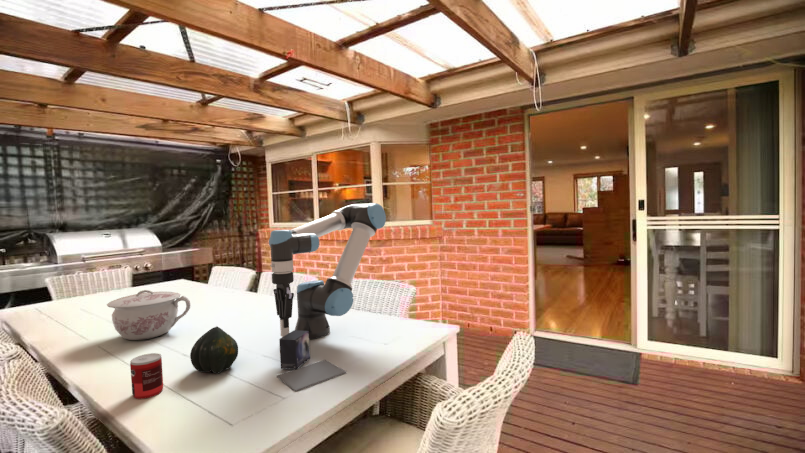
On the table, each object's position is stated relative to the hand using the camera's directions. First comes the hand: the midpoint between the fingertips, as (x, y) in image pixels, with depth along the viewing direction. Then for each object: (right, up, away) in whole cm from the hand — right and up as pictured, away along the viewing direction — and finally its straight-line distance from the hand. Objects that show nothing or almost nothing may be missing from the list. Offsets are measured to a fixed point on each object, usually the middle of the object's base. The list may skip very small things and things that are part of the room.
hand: (285, 335), depth 137 cm
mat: (+13, -9, -14) cm, 21 cm away
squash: (-22, -10, -7) cm, 25 cm away
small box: (+6, -9, -5) cm, 12 cm away
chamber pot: (-72, -9, +32) cm, 79 cm away
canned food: (-34, -11, -23) cm, 43 cm away
